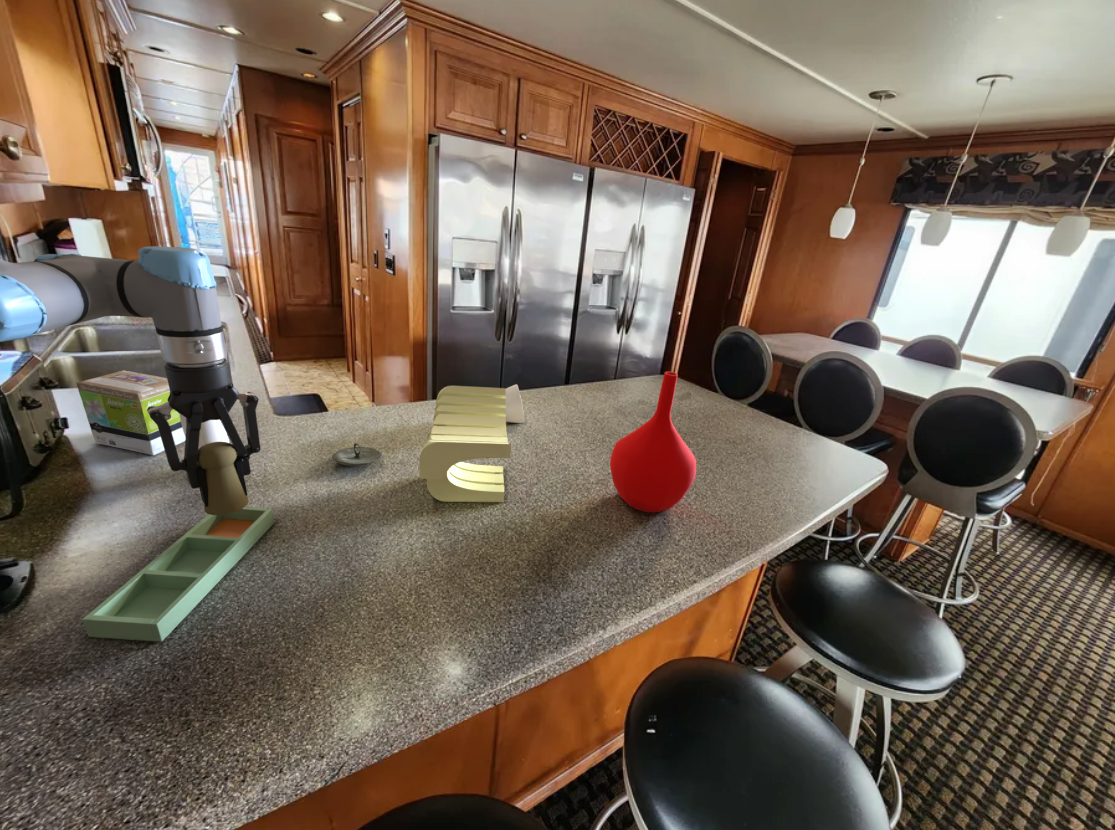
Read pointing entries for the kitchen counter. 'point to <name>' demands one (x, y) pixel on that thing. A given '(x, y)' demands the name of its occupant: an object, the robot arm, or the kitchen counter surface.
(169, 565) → the compartment tray
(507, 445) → the slatted curved stool
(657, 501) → the vase
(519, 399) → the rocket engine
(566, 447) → the kitchen counter surface
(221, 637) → the kitchen counter surface
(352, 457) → the lid
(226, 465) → the cork
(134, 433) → the tea box
